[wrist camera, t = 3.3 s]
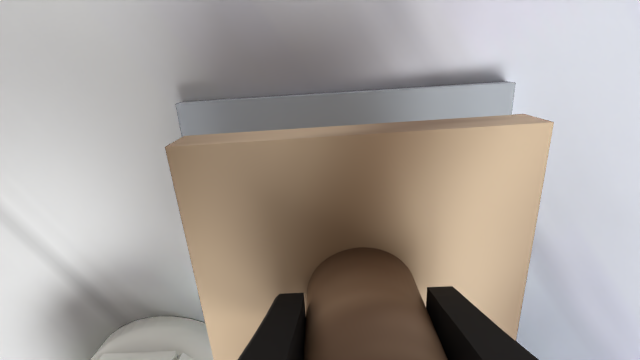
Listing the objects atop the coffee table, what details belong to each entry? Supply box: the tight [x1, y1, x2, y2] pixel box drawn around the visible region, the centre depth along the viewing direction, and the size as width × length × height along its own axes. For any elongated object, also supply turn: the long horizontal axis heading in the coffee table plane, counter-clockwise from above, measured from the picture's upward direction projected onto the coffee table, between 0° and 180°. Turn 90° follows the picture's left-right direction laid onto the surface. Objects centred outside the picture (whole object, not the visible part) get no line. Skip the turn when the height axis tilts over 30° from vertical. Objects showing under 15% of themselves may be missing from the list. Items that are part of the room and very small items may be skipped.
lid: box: [165, 114, 554, 360], centre depth 8 cm, size 9×9×5 cm
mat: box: [176, 82, 516, 137], centre depth 14 cm, size 12×10×1 cm
